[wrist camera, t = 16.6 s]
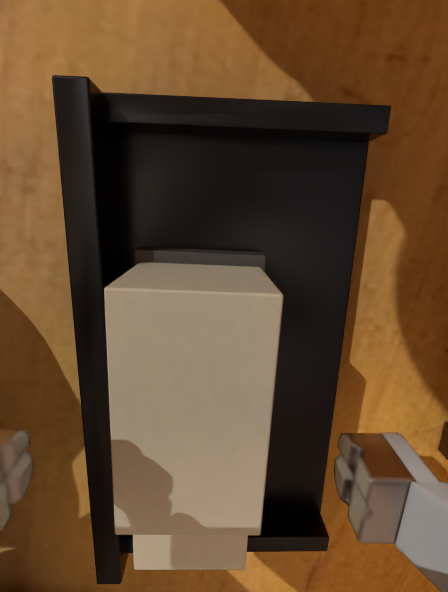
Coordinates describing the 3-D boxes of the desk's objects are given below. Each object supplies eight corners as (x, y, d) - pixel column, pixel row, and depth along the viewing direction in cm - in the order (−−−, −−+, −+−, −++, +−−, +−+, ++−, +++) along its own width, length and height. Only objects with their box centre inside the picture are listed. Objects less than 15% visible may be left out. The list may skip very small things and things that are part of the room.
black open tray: (93, 110, 14) (50, 73, 11) (362, 122, 15) (415, 91, 11) (118, 512, 20) (96, 585, 16) (314, 511, 20) (337, 581, 17)
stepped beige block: (140, 246, 15) (94, 269, 9) (262, 251, 15) (292, 277, 9) (144, 510, 19) (114, 645, 13) (242, 511, 19) (255, 643, 13)
